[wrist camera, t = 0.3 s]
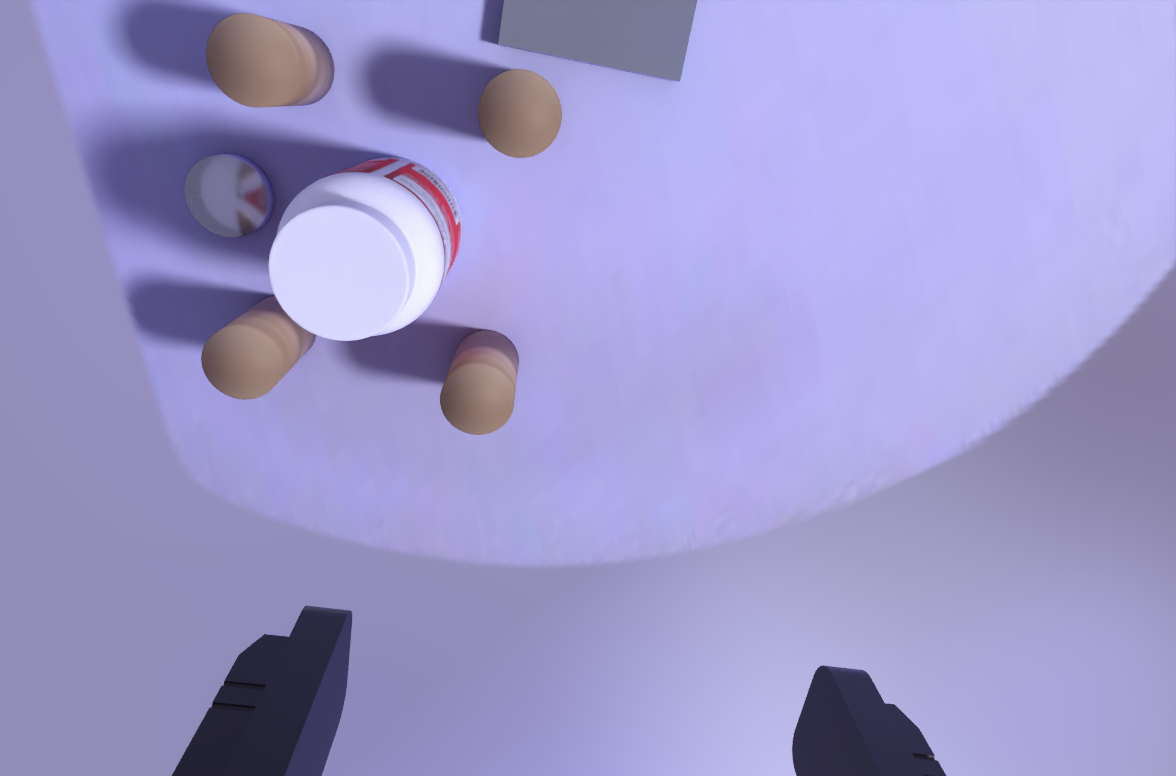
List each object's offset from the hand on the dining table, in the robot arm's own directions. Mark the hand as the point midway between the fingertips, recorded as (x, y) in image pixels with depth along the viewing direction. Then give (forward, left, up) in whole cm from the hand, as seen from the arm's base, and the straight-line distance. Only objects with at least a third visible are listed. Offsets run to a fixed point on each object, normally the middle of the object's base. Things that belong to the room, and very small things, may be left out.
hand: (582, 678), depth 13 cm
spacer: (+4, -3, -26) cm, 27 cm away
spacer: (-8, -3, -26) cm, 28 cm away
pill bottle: (-2, -8, -27) cm, 28 cm away
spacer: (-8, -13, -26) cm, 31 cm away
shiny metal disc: (-2, -16, -27) cm, 31 cm away
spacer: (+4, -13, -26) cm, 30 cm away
